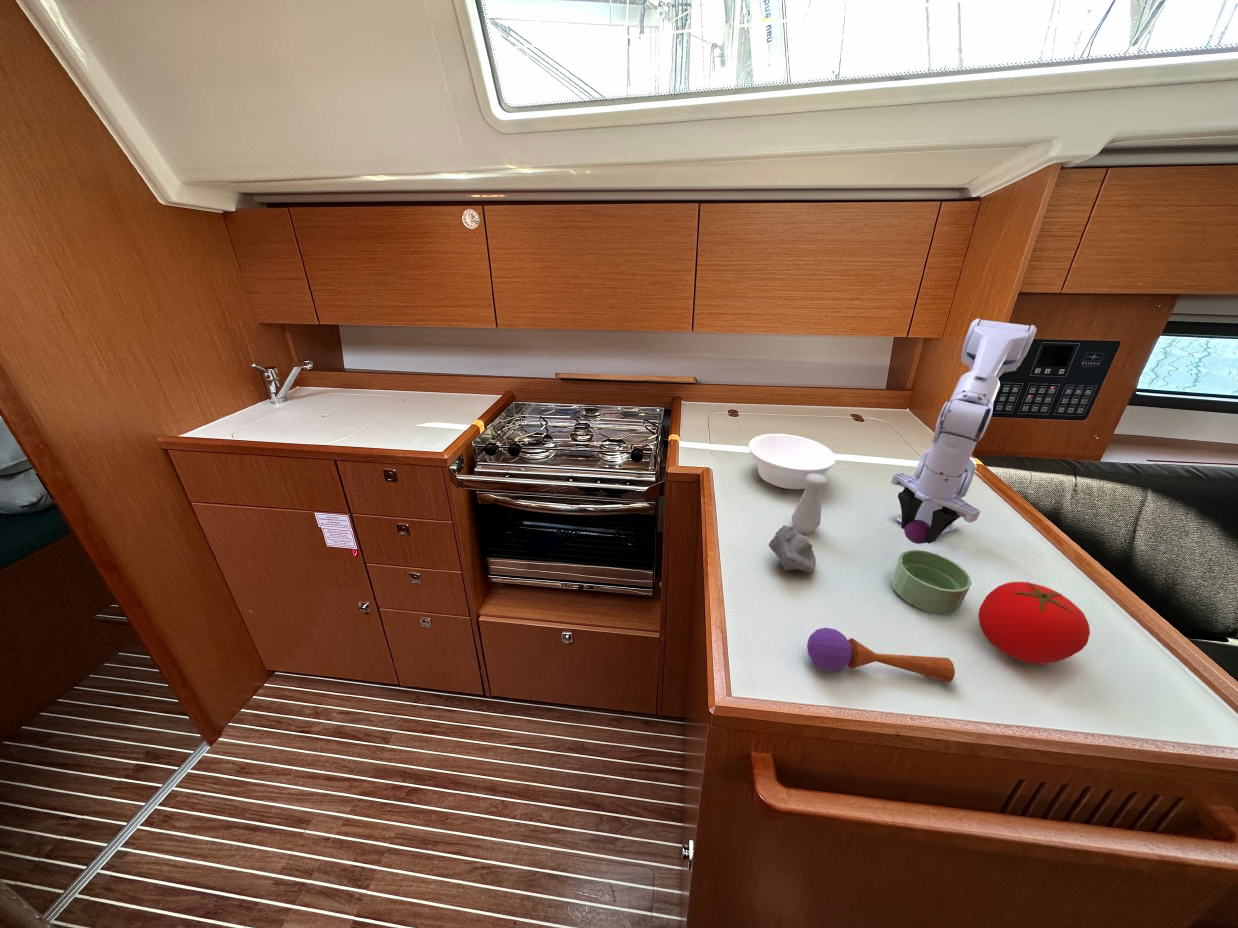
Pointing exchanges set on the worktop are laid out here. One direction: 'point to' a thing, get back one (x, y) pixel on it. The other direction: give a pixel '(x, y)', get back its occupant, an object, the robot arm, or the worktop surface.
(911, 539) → the ball
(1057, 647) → the tomato
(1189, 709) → the worktop surface
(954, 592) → the green bowl
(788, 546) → the grey rock
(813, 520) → the salt shaker
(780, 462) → the bowl
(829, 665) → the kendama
